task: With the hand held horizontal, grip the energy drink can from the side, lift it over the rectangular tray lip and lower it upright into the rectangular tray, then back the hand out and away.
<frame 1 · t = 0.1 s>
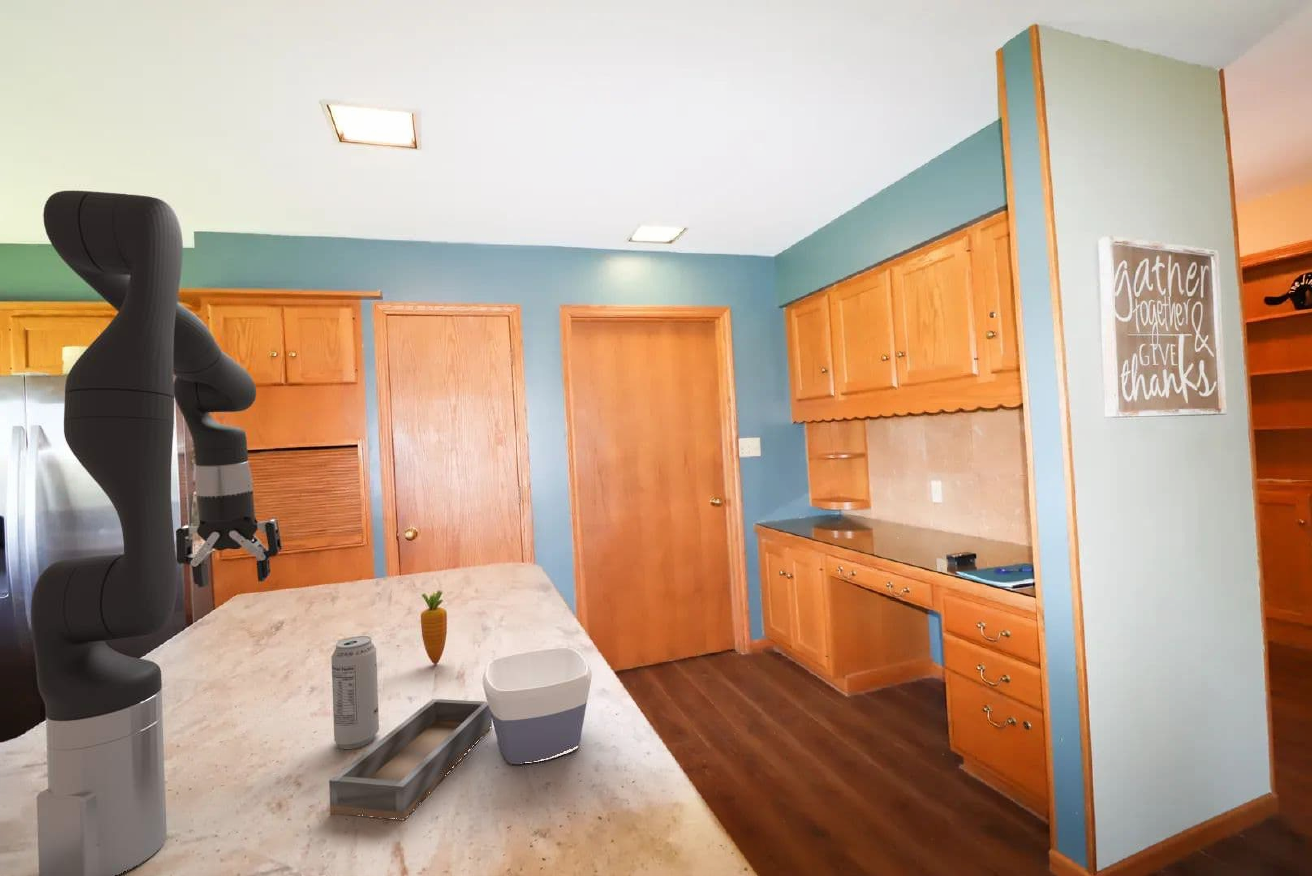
hand: (233, 582, 97), 22 cm above the countertop, tool pointing down, fingers open, 8 cm apart
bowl: (539, 744, 84), on the countertop
carrot: (435, 665, 116), on the countertop
energy drink can: (357, 741, 87), on the countertop
rectangular tray: (421, 765, 79), on the countertop
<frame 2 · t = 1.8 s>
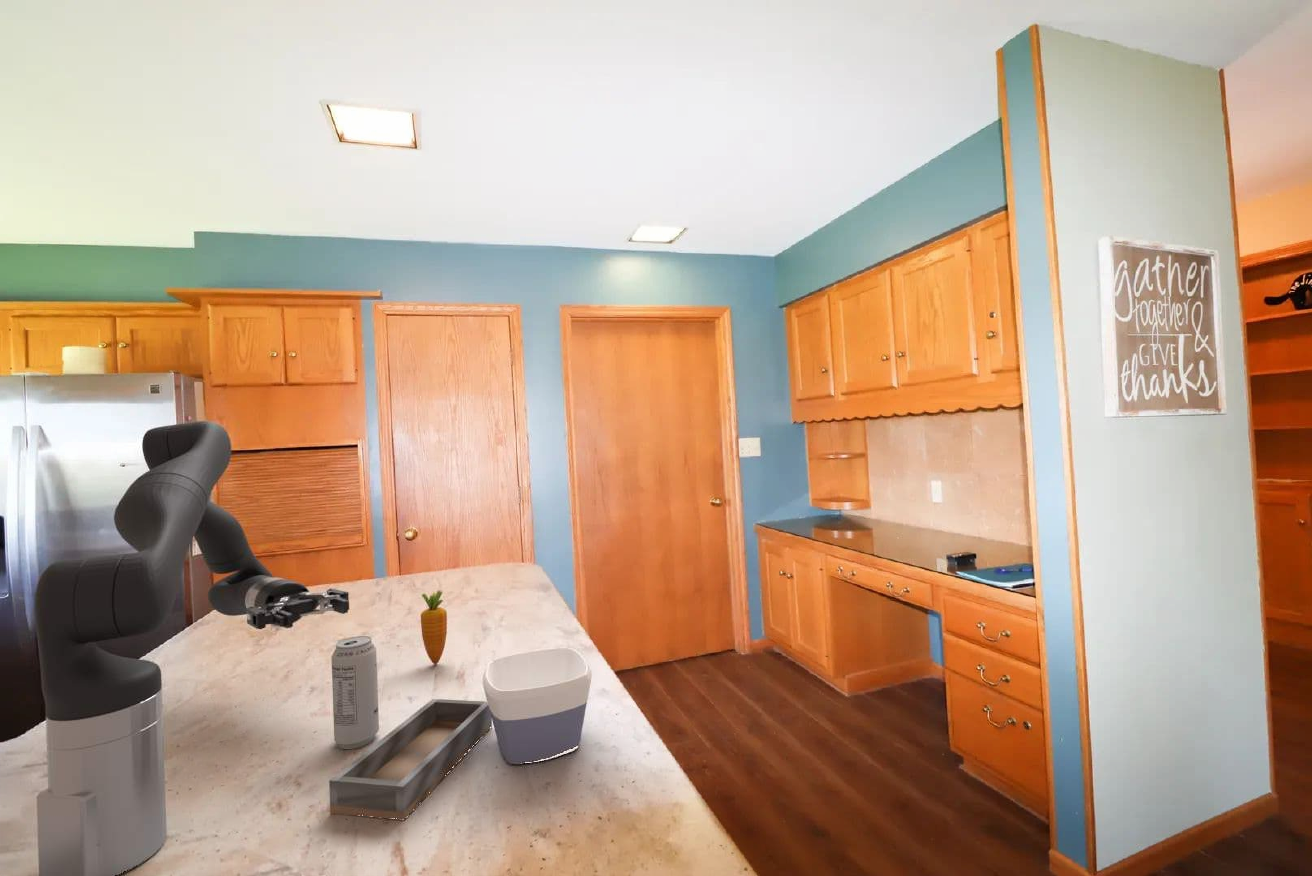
hand: (319, 613, 93), 18 cm above the countertop, tool horizontal, fingers open, 8 cm apart
nothing on the countertop moved.
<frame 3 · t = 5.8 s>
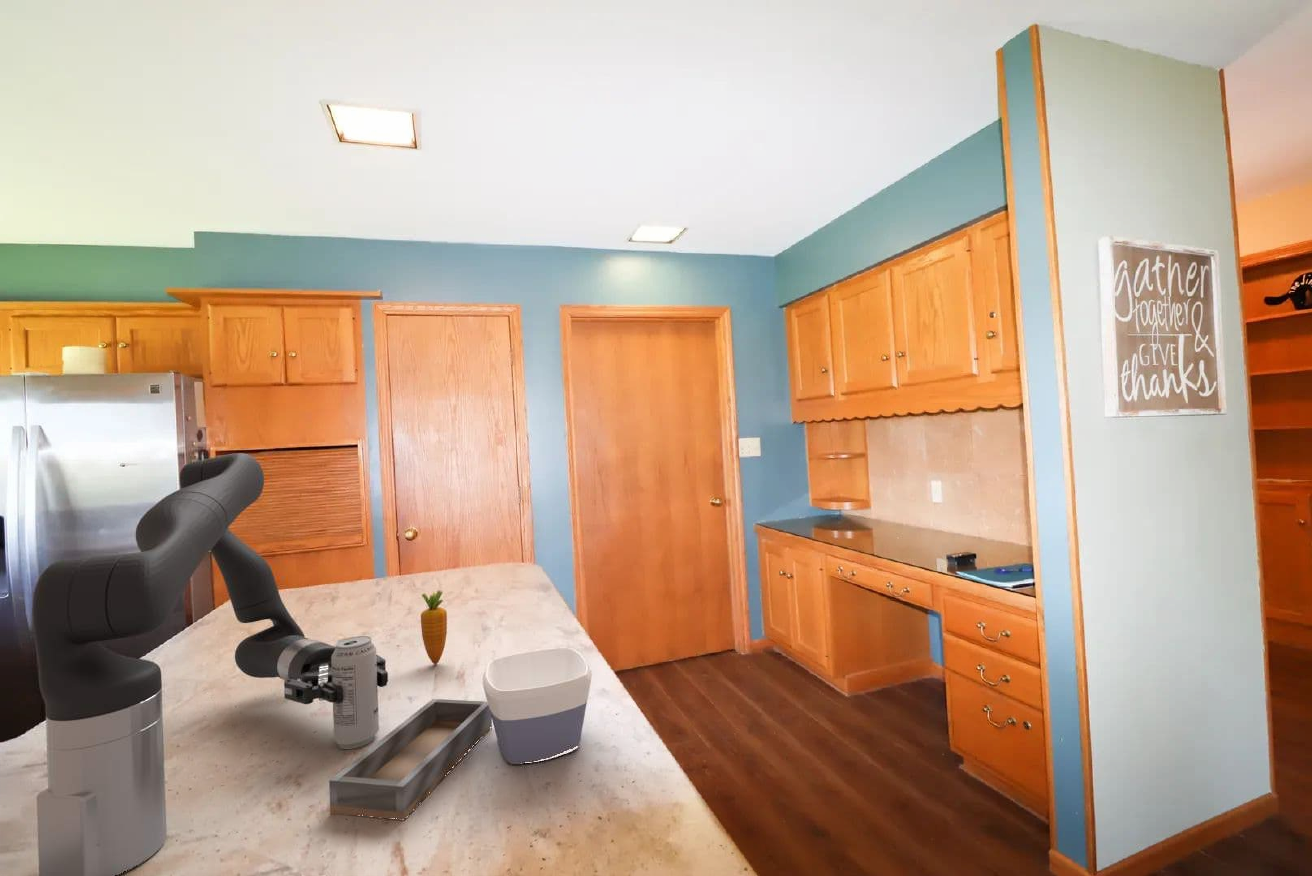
hand: (363, 687, 85), 9 cm above the countertop, tool horizontal, fingers closed on energy drink can, 6 cm apart
energy drink can: (357, 741, 87), on the countertop, touching gripper
everything else where it was.
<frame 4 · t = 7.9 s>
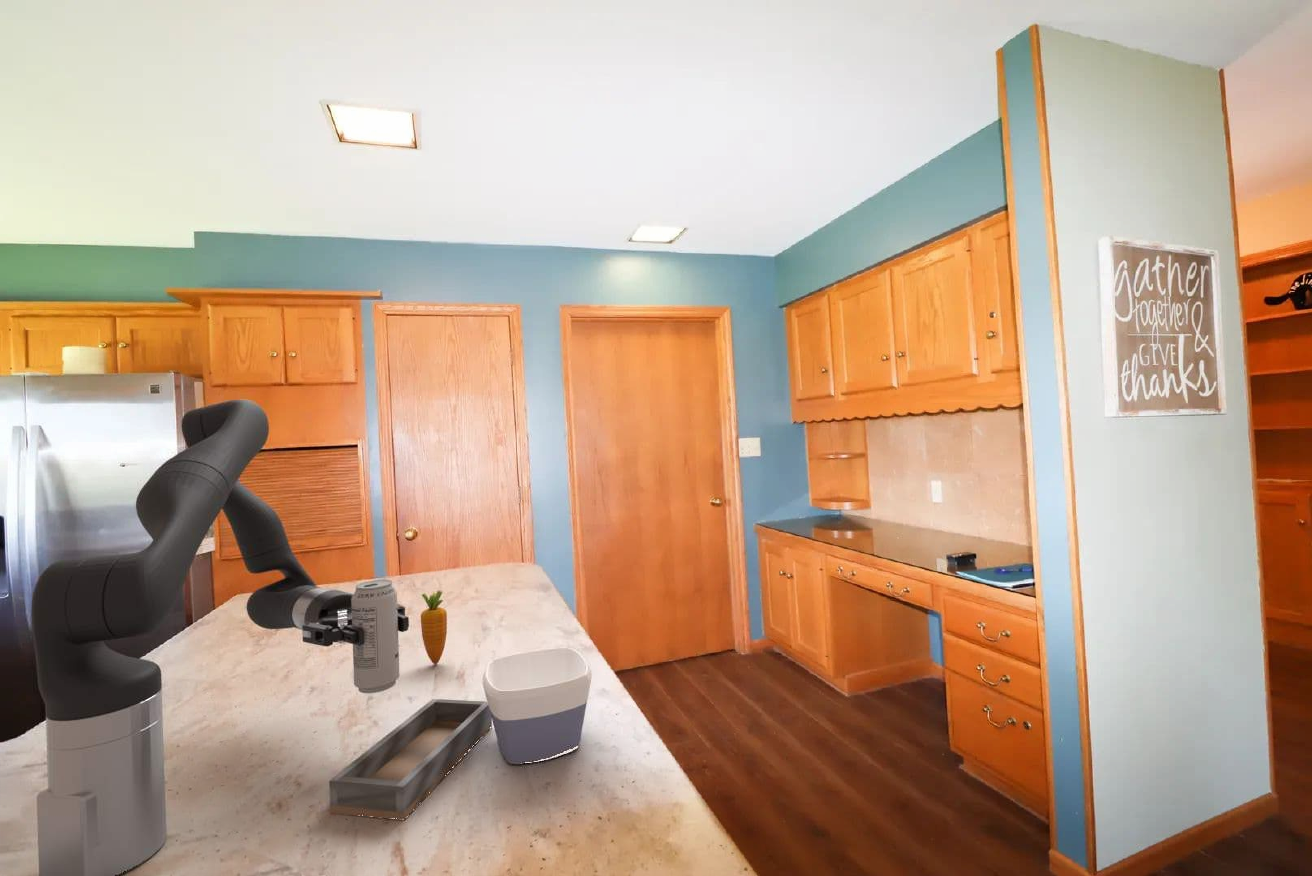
hand: (384, 630, 83), 18 cm above the countertop, tool horizontal, fingers closed on energy drink can, 6 cm apart
energy drink can: (377, 687, 84), point 9 cm above the countertop, touching gripper
everything else where it was.
when the fingers open (11 cm above the countertop, at t = 10.4 s): energy drink can drops 1 cm, resting on rectangular tray.
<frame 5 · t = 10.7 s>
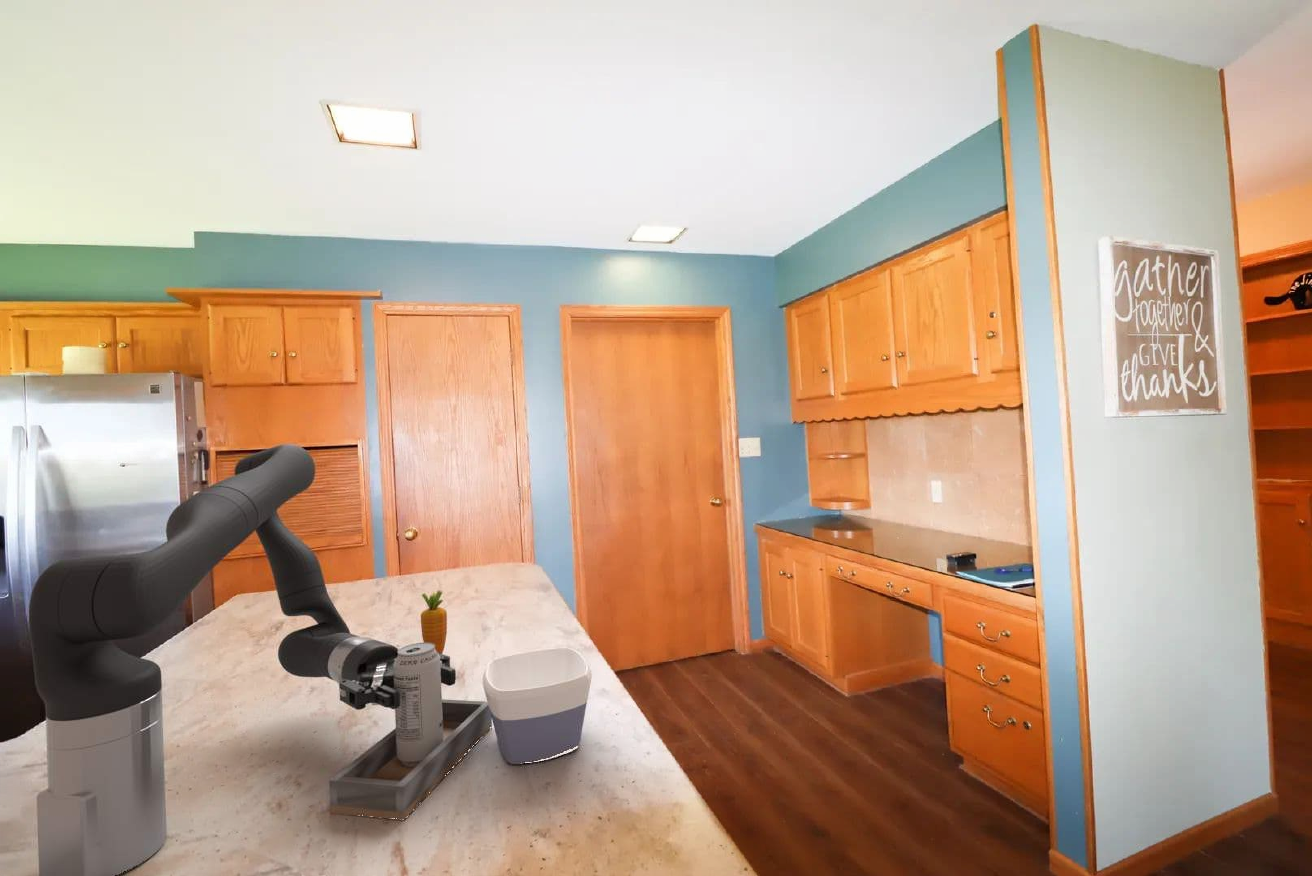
hand: (426, 688, 78), 11 cm above the countertop, tool horizontal, fingers open, 8 cm apart
energy drink can: (421, 758, 79), point 1 cm above the countertop, touching rectangular tray
everything else where it was.
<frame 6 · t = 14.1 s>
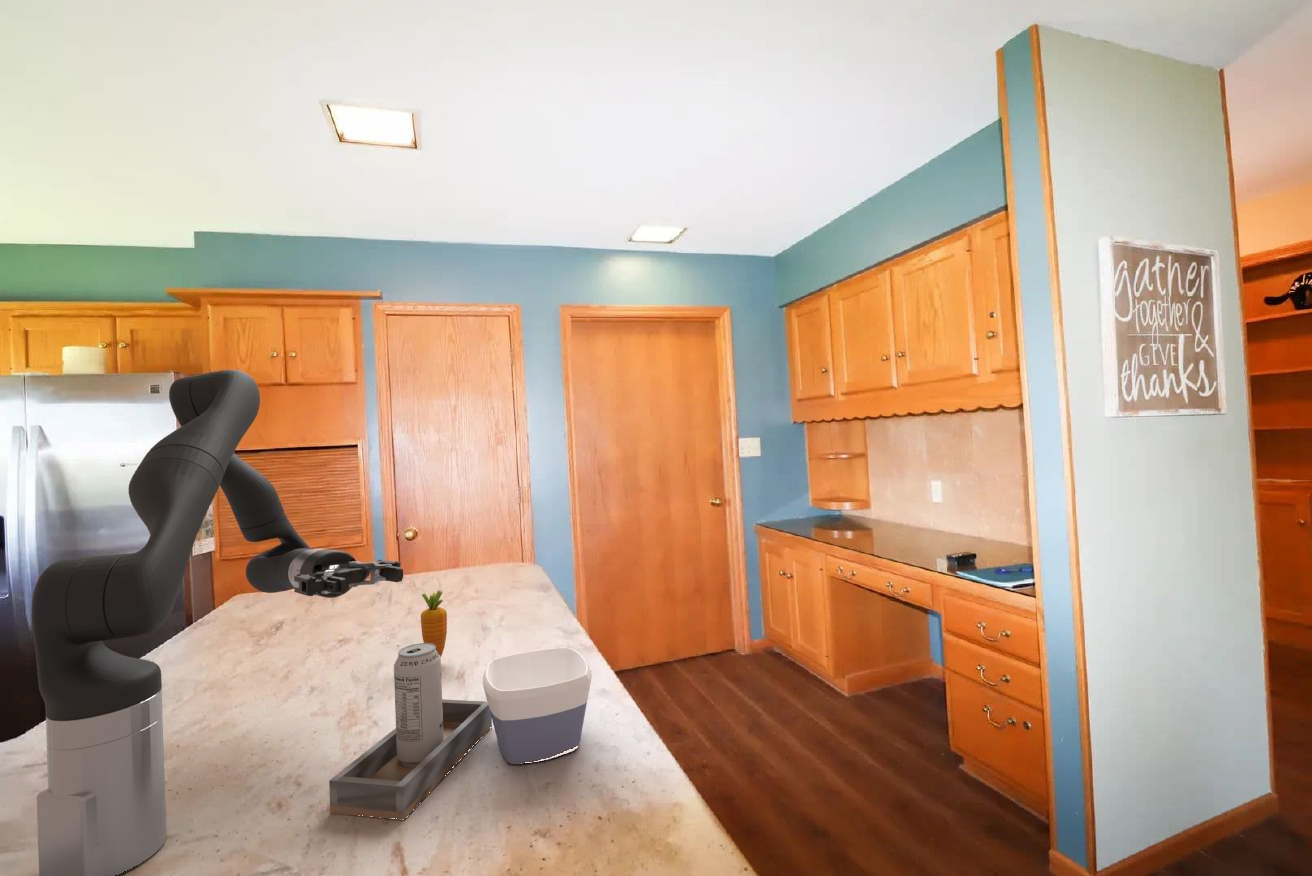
hand: (373, 580, 86), 24 cm above the countertop, tool horizontal, fingers open, 8 cm apart
nothing on the countertop moved.
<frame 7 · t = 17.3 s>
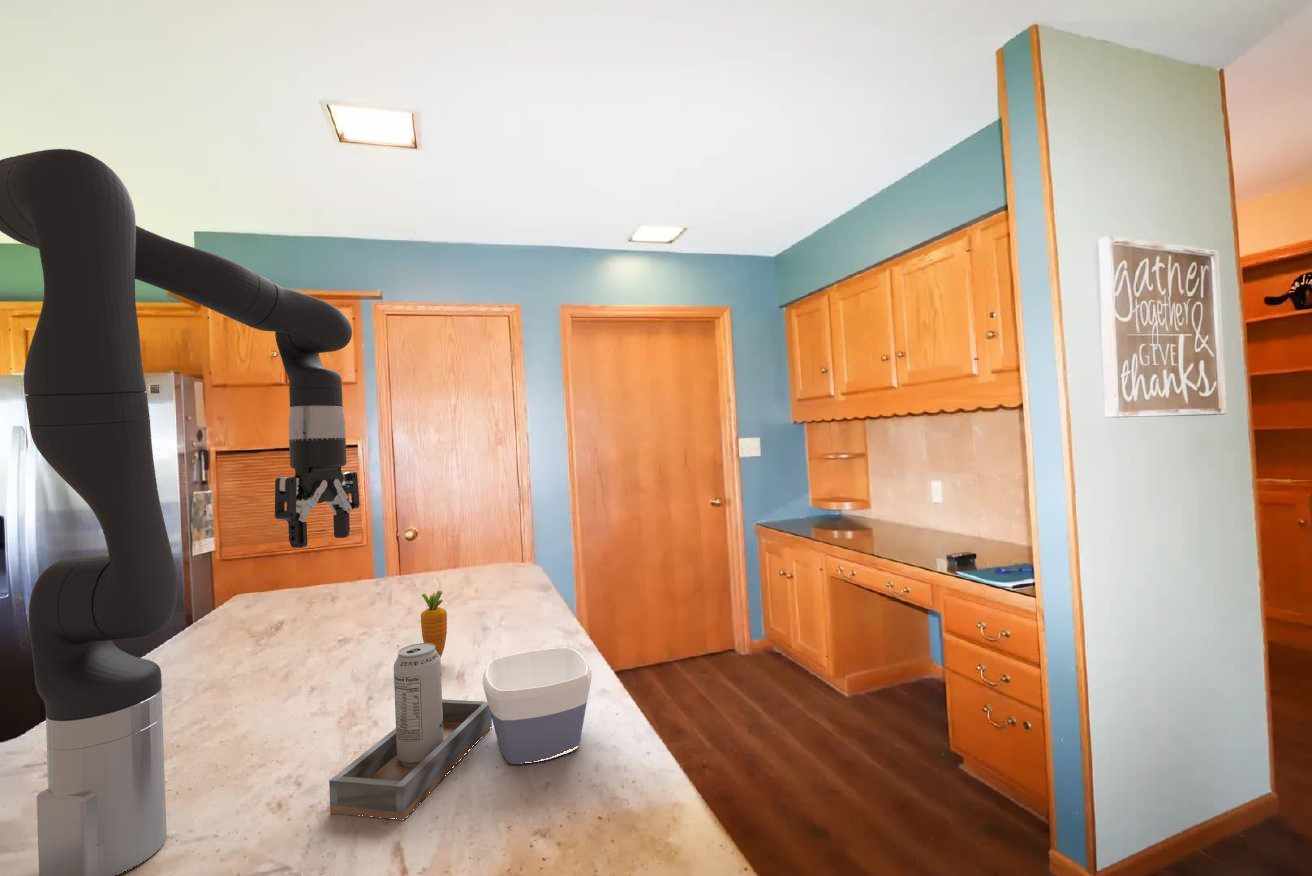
hand: (321, 542, 88), 30 cm above the countertop, tool pointing down, fingers open, 8 cm apart
nothing on the countertop moved.
at the end: energy drink can inside the target area on the rectangular tray (0.1 cm from its centre), point 0.8 cm above the rectangular tray's base; energy drink can tilted 0°; the gripper is holding nothing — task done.
